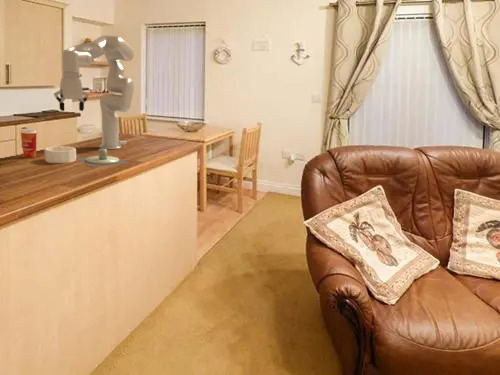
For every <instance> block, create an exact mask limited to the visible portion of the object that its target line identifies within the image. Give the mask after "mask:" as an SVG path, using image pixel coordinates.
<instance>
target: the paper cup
mask: <svg viewBox="0 0 500 375" xmlns="http://www.w3.org/2000/svg"><path fill="white" fill-rule="evenodd" d="M19 132H20V137H21V145H22V154H23V158H25V159H34V158H37V133H38V131H37V130H36V129H35V128H21V129H20V131H19Z"/></svg>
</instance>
